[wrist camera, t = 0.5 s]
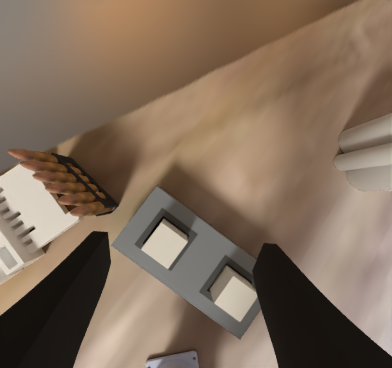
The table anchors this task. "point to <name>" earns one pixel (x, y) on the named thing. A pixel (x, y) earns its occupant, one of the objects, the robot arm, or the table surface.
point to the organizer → (27, 220)
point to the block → (189, 257)
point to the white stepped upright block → (367, 155)
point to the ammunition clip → (67, 182)
